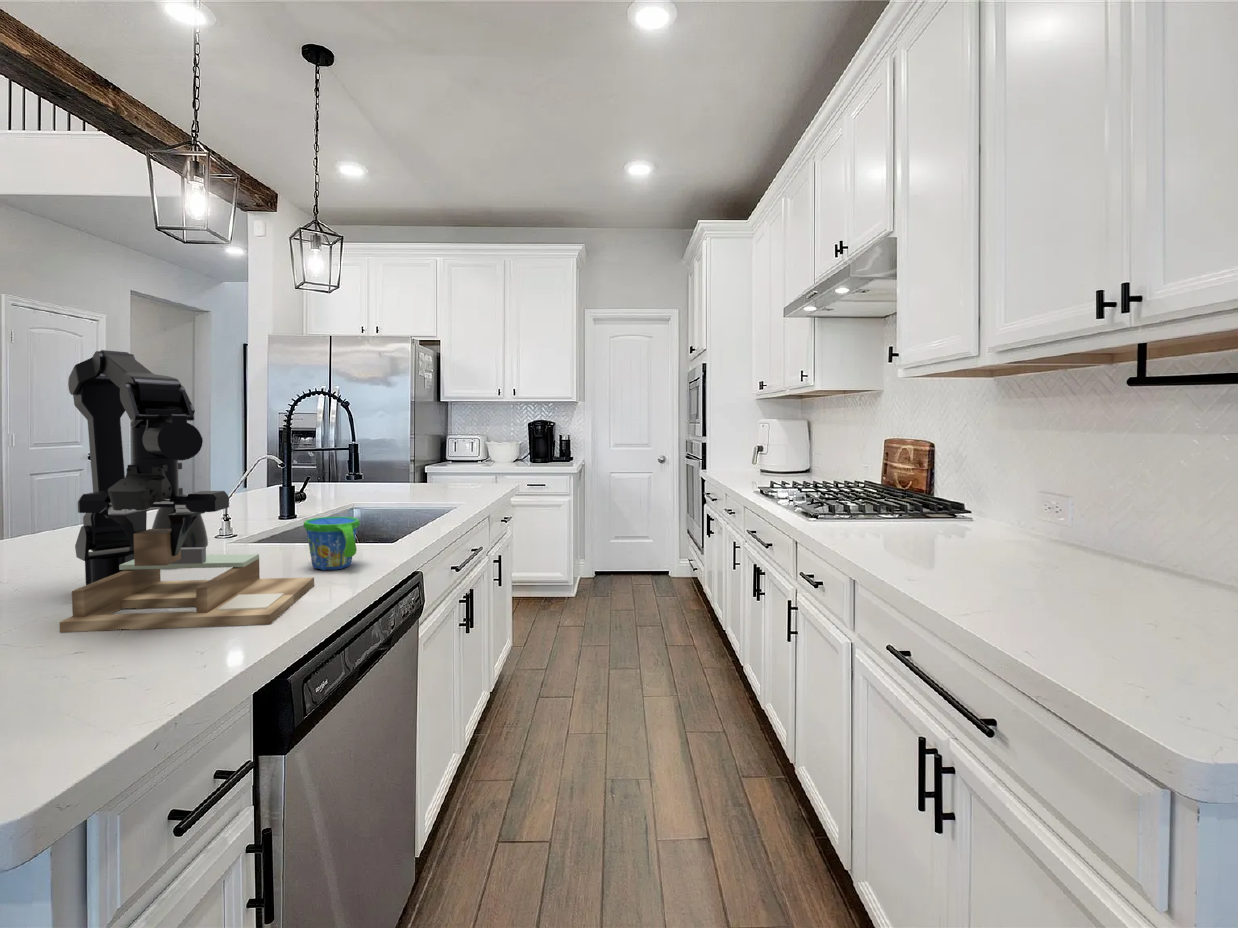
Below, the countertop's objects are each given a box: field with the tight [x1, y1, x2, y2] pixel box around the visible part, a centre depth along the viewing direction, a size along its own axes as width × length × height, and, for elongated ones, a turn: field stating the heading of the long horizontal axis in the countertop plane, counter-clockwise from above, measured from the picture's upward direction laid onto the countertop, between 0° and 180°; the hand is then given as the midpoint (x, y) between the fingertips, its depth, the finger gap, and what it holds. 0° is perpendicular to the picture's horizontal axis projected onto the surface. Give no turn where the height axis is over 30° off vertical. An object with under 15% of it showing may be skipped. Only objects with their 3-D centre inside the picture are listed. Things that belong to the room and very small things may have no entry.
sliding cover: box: [119, 547, 260, 570], centre depth 108 cm, size 19×7×3 cm, turn 101°
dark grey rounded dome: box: [151, 493, 209, 548], centre depth 131 cm, size 10×10×15 cm
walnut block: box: [134, 528, 181, 566], centre depth 97 cm, size 4×4×5 cm
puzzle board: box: [59, 558, 315, 633], centre depth 103 cm, size 28×23×6 cm
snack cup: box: [303, 516, 360, 571], centre depth 131 cm, size 16×10×10 cm
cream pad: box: [218, 593, 284, 611], centre depth 100 cm, size 7×8×1 cm
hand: (158, 555), depth 97 cm, fingers closed on walnut block, 4 cm apart
